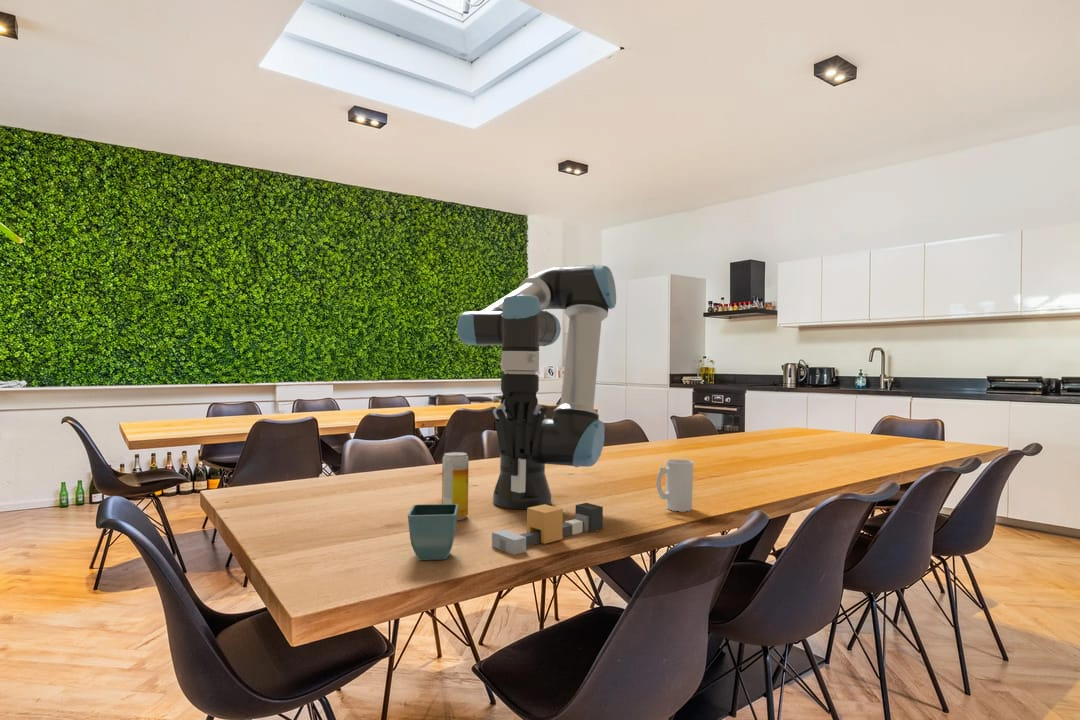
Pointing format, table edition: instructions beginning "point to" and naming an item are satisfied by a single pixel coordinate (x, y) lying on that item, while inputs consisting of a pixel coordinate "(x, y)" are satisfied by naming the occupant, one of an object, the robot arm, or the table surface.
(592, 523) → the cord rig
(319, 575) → the table surface
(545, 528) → the sleeve
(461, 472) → the beer can
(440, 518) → the flower pot
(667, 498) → the mug
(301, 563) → the table surface
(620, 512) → the table surface
